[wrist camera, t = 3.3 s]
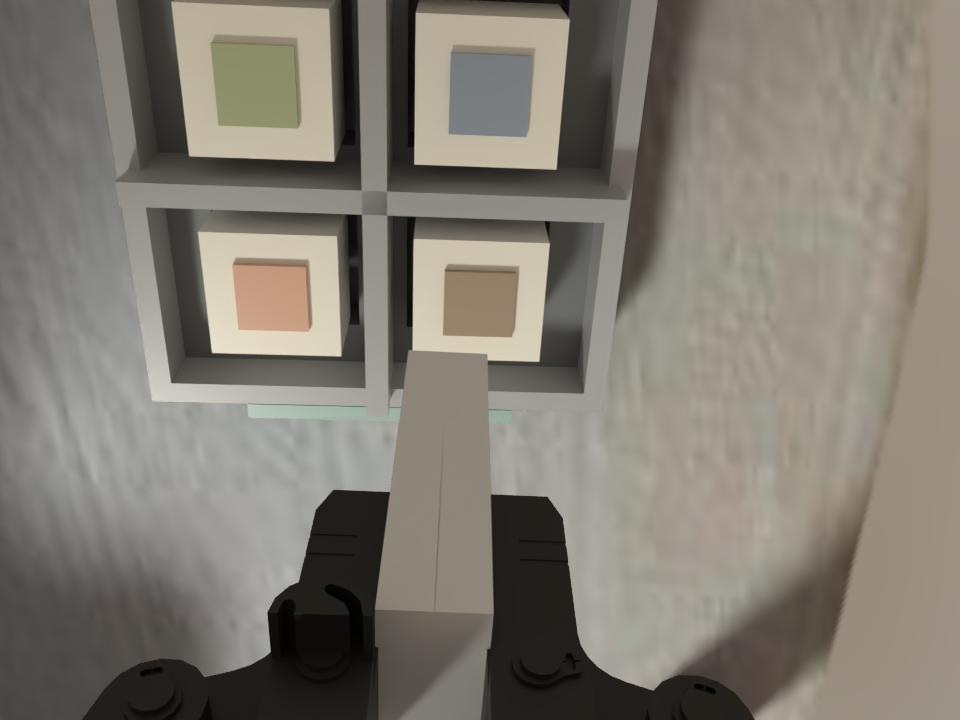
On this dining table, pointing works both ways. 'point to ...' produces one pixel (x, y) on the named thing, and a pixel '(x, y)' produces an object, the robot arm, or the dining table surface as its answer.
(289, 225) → the key
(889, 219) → the dining table surface
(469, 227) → the key
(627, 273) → the dining table surface
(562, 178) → the keypad
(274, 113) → the key
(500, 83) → the key
